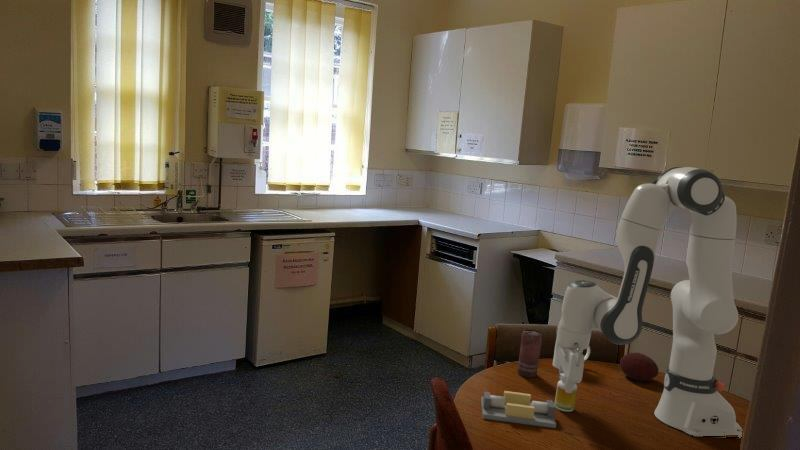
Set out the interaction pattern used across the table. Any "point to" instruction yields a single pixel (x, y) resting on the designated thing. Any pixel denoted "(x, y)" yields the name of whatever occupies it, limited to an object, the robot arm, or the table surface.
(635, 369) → the potato
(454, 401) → the table surface
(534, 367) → the can
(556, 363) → the mug
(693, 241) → the robot arm
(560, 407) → the supplement bottle
